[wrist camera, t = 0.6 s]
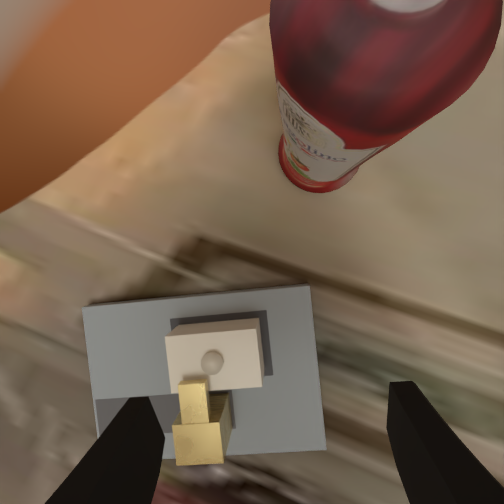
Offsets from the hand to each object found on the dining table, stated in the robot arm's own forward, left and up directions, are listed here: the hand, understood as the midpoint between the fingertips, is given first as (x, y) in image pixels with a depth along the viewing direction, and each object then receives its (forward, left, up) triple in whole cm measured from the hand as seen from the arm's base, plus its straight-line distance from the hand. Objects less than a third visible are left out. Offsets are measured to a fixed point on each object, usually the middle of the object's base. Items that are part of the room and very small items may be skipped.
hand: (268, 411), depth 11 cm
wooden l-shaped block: (-8, +7, -19) cm, 21 cm away
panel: (-6, +7, -20) cm, 22 cm away
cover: (-4, +5, -19) cm, 20 cm away
